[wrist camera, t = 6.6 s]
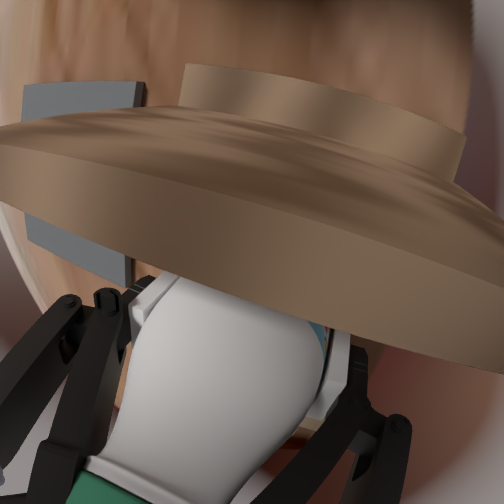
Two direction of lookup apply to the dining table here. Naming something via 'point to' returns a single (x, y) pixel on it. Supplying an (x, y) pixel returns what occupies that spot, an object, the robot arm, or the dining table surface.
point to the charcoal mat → (67, 102)
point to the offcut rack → (281, 206)
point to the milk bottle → (205, 400)
